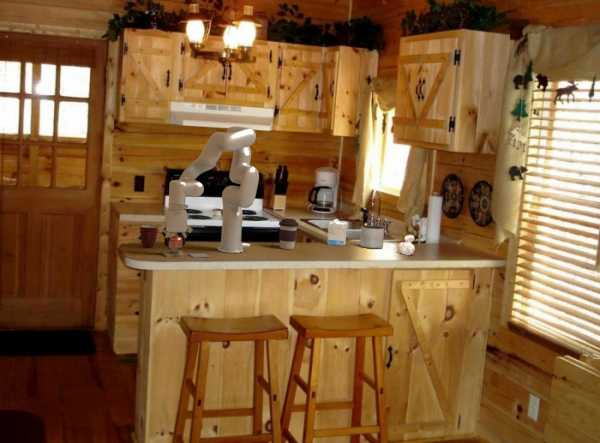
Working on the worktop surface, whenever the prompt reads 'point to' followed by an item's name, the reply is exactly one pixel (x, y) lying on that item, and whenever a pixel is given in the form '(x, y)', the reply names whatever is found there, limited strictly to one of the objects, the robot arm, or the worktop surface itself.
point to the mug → (148, 235)
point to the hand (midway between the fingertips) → (174, 245)
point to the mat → (198, 255)
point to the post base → (174, 253)
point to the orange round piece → (175, 241)
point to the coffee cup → (288, 233)
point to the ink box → (337, 233)
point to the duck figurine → (407, 246)
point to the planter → (372, 237)
